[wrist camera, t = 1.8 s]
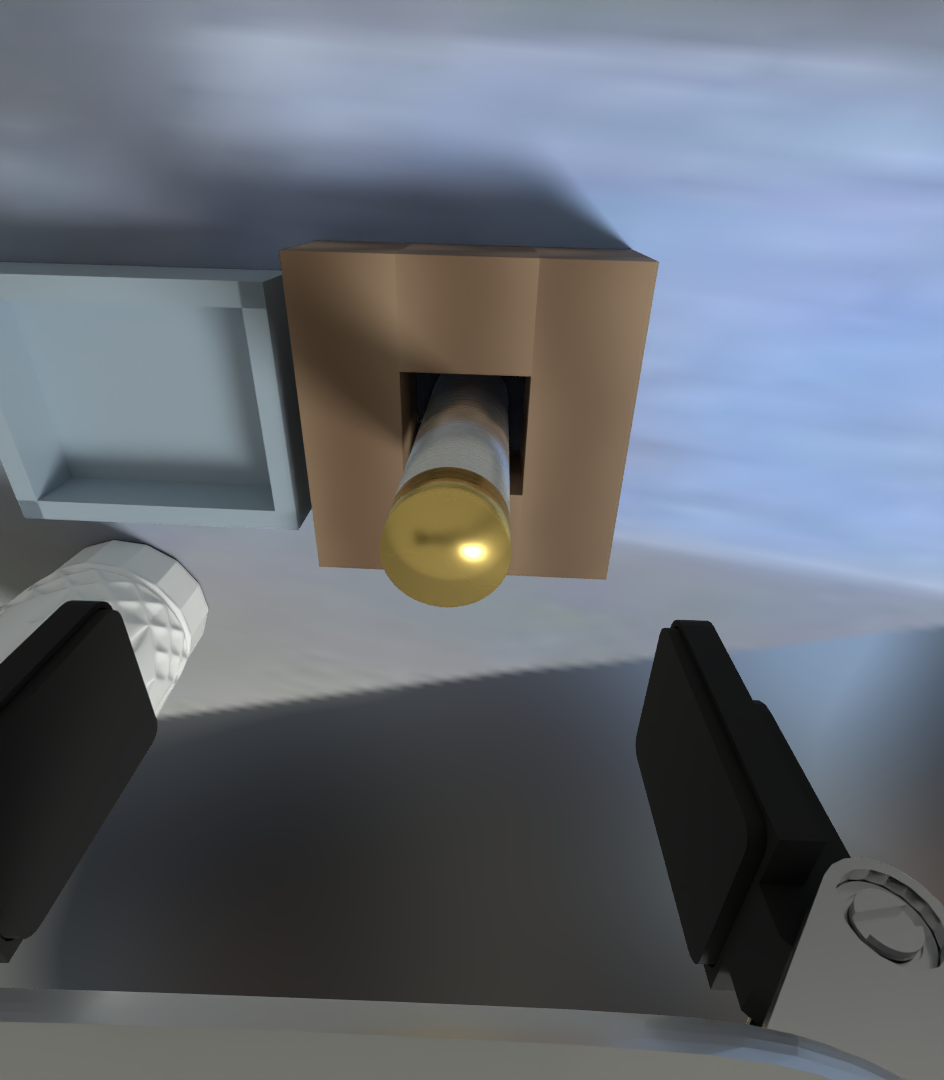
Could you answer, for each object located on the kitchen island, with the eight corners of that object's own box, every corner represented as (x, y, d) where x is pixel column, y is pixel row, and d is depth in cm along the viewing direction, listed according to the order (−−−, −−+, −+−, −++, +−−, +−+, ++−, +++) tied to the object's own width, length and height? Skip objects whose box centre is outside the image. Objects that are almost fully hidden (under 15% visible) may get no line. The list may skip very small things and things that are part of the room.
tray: (291, 271, 21) (262, 282, 19) (318, 496, 26) (298, 530, 23) (-8, 261, 22) (-77, 271, 19) (71, 485, 26) (24, 517, 24)
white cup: (75, 646, 31) (-89, 820, 23) (42, 515, 27) (-173, 666, 19) (225, 668, 31) (120, 848, 23) (215, 541, 27) (83, 703, 19)
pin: (510, 363, 23) (514, 497, 13) (506, 437, 24) (507, 610, 14) (431, 360, 23) (375, 491, 13) (432, 435, 24) (382, 604, 14)
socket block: (632, 249, 20) (658, 261, 17) (592, 528, 26) (606, 579, 23) (316, 240, 21) (278, 250, 17) (343, 517, 26) (319, 566, 23)
